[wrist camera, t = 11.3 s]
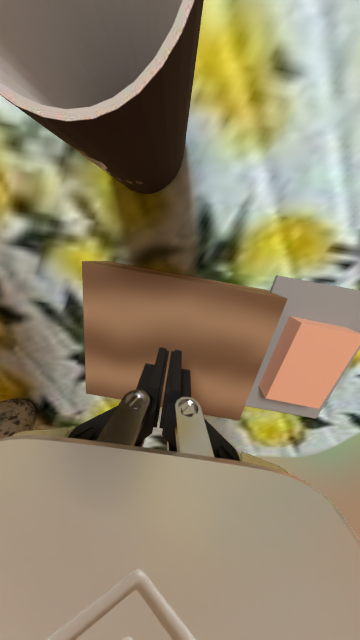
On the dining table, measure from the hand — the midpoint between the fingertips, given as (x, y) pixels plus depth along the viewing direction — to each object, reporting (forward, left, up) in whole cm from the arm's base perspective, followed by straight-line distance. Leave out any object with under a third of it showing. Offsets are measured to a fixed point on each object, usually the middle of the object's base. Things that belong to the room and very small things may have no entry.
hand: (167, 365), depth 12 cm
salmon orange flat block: (+1, +14, -4) cm, 15 cm away
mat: (+1, +14, -7) cm, 16 cm away
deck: (+1, 0, -7) cm, 7 cm away
